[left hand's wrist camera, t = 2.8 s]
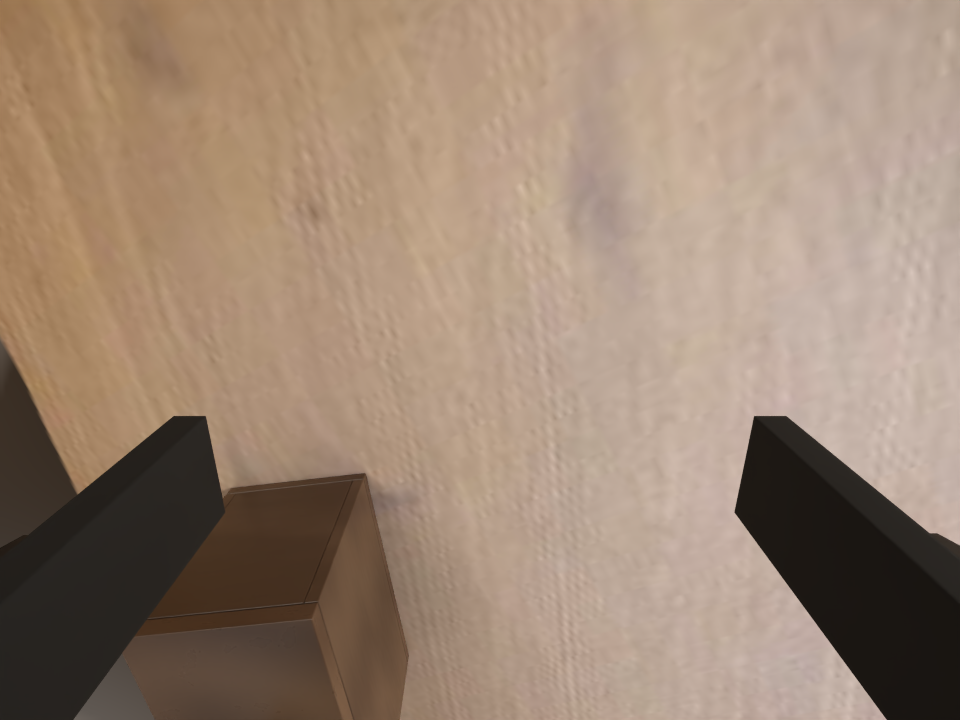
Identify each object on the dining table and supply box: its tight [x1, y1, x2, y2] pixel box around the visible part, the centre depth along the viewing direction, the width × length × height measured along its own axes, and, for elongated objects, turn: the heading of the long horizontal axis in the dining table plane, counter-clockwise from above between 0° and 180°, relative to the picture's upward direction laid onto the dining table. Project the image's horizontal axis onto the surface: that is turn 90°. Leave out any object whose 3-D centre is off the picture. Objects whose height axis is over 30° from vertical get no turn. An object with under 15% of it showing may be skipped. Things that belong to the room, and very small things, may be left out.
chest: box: [147, 473, 409, 720], centre depth 32 cm, size 16×9×11 cm, turn 7°
